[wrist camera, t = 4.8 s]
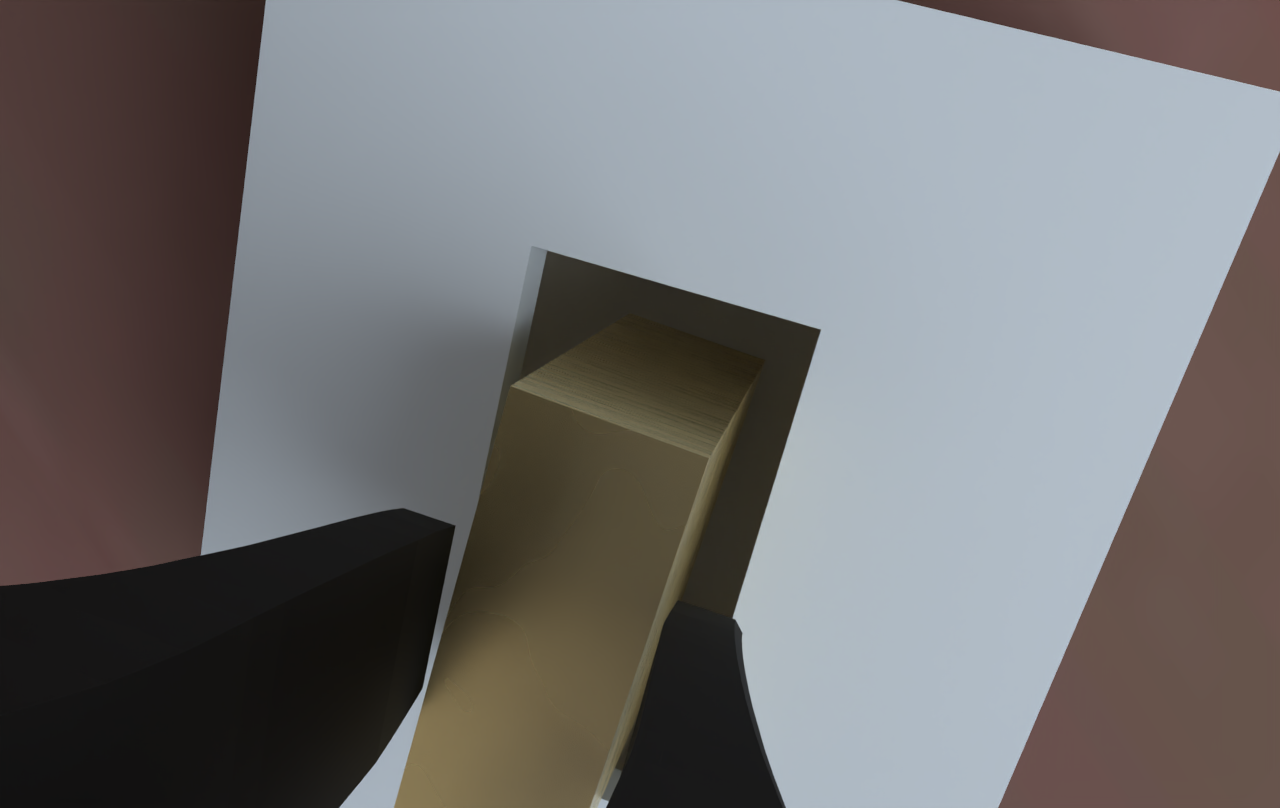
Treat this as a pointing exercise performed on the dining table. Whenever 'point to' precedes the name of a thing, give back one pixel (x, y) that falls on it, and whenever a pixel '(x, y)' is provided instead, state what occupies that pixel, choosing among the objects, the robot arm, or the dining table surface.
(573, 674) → the tan wooden block
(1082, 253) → the tissue box
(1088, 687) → the dining table surface
